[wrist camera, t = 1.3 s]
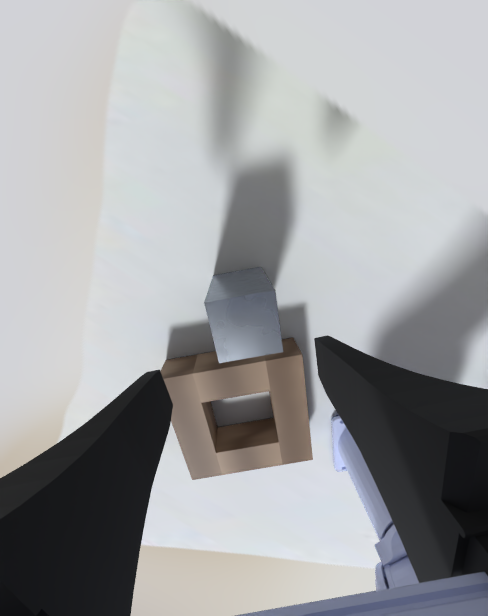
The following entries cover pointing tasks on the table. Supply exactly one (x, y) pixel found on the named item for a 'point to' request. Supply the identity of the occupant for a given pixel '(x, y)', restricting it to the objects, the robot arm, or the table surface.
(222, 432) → the socket block
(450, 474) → the robot arm
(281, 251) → the table surface
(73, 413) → the table surface
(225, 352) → the steel peg
